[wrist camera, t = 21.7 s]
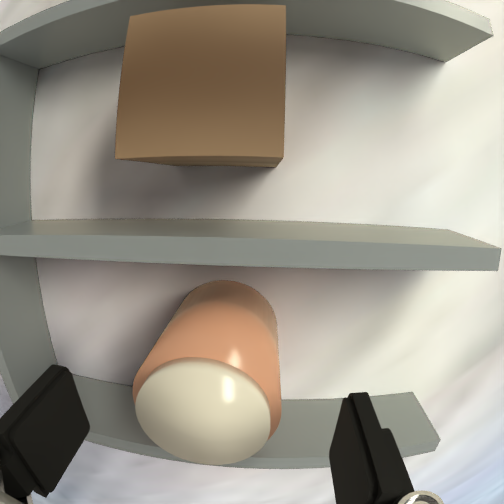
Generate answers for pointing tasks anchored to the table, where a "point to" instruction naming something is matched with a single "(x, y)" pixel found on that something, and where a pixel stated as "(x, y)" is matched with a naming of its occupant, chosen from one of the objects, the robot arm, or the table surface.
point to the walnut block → (204, 87)
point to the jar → (213, 377)
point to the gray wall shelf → (209, 230)
